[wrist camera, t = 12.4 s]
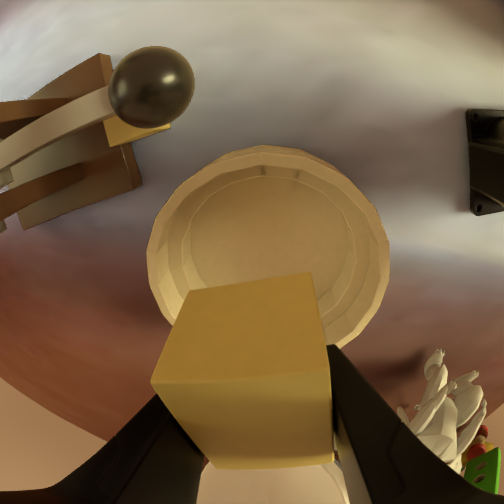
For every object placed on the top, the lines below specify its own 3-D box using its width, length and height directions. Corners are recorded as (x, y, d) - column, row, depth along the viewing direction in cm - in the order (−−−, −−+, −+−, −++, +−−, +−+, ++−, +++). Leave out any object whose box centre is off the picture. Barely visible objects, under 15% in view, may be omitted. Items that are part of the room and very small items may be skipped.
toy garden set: (493, 502, 9) (499, 531, 7) (498, 414, 23) (506, 438, 21) (289, 538, 21) (303, 560, 19) (363, 469, 35) (372, 489, 33)
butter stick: (158, 76, 13) (139, 71, 11) (171, 127, 14) (154, 130, 12) (118, 93, 13) (95, 91, 11) (130, 142, 14) (109, 147, 12)
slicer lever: (185, 49, 10) (183, 23, 7) (202, 117, 11) (205, 109, 8) (-29, 153, 9) (-67, 162, 6) (-14, 209, 10) (-50, 228, 7)
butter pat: (311, 270, 8) (330, 368, 5) (324, 377, 10) (334, 463, 7) (188, 289, 8) (147, 381, 5) (229, 388, 10) (216, 470, 7)
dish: (352, 128, 13) (379, 133, 10) (369, 307, 18) (386, 349, 14) (148, 173, 15) (113, 192, 12) (205, 332, 20) (192, 376, 16)
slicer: (110, 55, 12) (-8, 33, 4) (143, 184, 15) (40, 253, 7) (4, 124, 14) (-91, 152, 6) (33, 224, 17) (-52, 285, 9)
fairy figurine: (456, 430, 21) (423, 547, 11) (326, 358, 26) (250, 488, 15) (526, 385, 15) (515, 529, 5) (385, 290, 19) (311, 476, 9)
